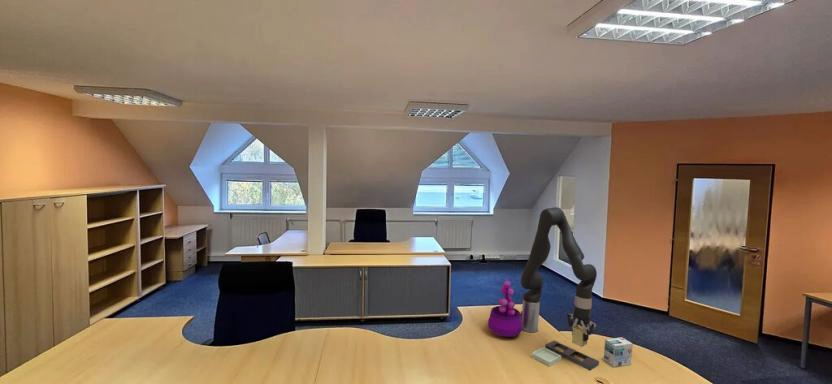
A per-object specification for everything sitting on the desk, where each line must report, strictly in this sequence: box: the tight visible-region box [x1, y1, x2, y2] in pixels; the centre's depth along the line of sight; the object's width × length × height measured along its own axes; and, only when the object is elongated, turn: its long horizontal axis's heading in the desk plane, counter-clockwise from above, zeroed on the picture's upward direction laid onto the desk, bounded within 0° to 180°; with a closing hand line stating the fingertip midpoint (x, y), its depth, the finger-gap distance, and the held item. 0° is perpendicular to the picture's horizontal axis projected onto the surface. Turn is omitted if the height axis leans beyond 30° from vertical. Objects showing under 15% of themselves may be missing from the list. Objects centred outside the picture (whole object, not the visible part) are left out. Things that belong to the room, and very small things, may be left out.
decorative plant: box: [487, 280, 523, 338], centre depth 205 cm, size 19×18×30 cm
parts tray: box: [530, 346, 562, 367], centre depth 181 cm, size 10×10×2 cm
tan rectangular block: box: [571, 325, 588, 348], centre depth 180 cm, size 5×5×8 cm
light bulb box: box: [603, 336, 634, 368], centre depth 179 cm, size 11×7×11 cm, turn 105°
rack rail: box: [544, 340, 600, 371], centre depth 184 cm, size 24×8×2 cm, turn 37°
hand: (579, 338), depth 180 cm, fingers closed on tan rectangular block, 5 cm apart
